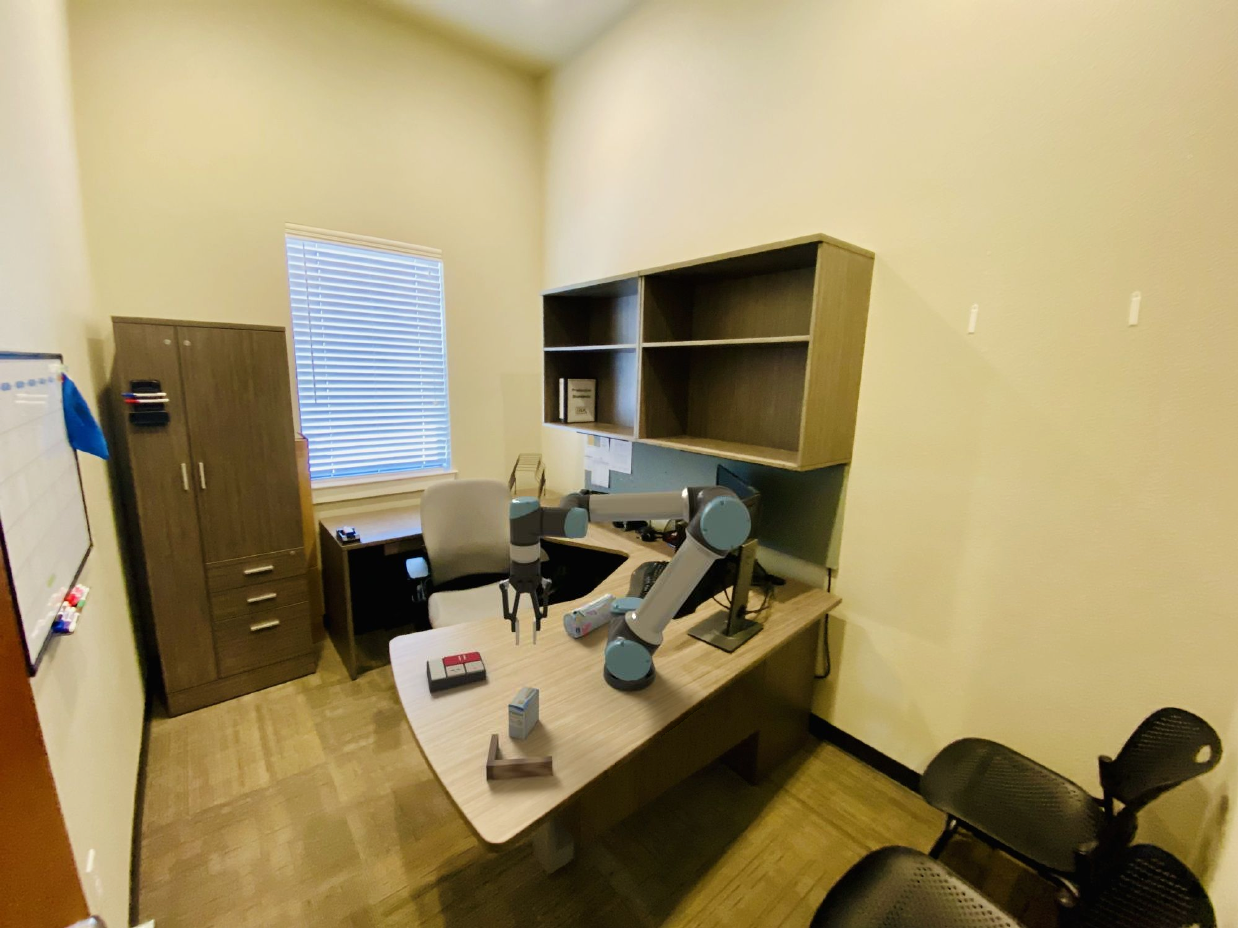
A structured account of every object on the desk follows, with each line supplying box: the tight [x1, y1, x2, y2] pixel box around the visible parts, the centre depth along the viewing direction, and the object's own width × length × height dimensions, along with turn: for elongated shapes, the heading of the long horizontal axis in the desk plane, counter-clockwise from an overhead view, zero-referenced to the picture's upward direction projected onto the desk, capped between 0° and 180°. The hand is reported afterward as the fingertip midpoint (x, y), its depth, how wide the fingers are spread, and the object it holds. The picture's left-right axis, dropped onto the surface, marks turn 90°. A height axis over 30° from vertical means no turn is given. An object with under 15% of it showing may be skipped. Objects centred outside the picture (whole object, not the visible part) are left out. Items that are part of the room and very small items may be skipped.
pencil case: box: [562, 593, 617, 639], centre depth 170 cm, size 21×9×10 cm, turn 137°
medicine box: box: [507, 685, 540, 740], centre depth 121 cm, size 8×4×9 cm, turn 163°
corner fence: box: [485, 733, 553, 781], centre depth 111 cm, size 14×10×4 cm
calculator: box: [426, 651, 487, 694], centre depth 141 cm, size 11×4×15 cm
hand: (526, 641), depth 129 cm, fingers open, 4 cm apart
